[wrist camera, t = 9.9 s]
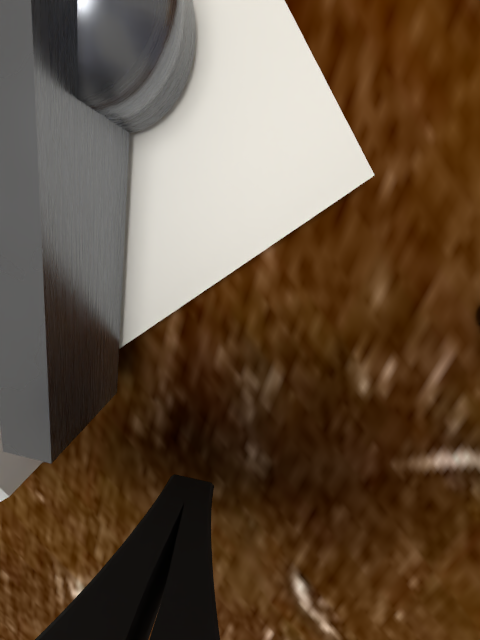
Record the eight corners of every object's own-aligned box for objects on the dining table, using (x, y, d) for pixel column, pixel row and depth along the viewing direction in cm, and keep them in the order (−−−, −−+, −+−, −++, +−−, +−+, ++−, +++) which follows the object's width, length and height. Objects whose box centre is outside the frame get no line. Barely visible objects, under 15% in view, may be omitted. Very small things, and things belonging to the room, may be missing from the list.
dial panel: (68, -376, 6) (22, -515, 4) (362, 181, 8) (376, 174, 7) (-208, 100, 9) (-271, 83, 8) (57, 388, 11) (36, 405, 10)
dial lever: (18, -107, 6) (-217, -416, 3) (208, -77, 6) (144, -377, 3) (42, 375, 10) (-53, 438, 7) (157, 401, 9) (108, 477, 7)
